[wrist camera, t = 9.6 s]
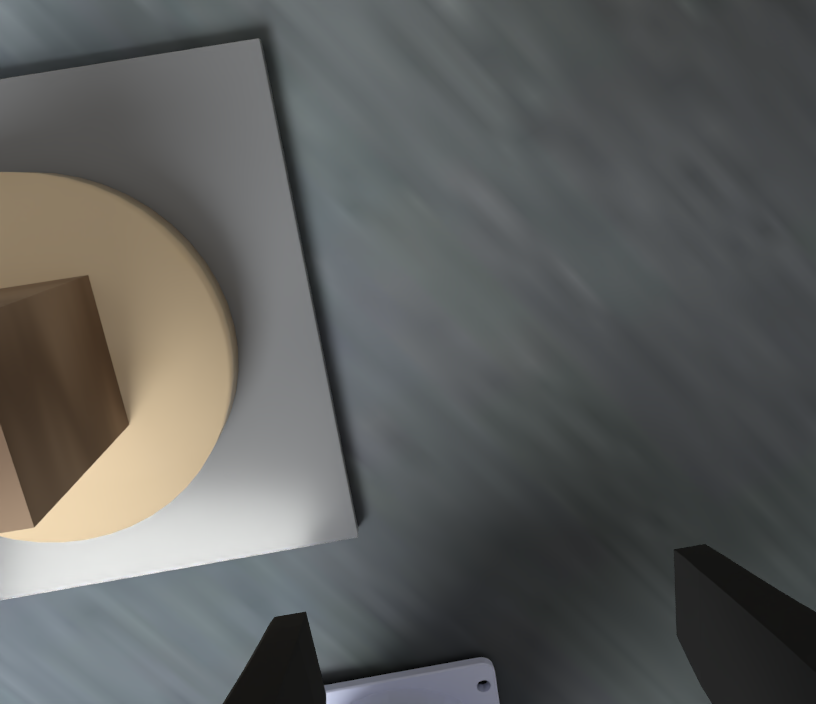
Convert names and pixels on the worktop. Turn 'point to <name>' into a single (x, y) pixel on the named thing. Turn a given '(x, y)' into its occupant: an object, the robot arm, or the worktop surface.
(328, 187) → the worktop surface
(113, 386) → the block
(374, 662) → the worktop surface
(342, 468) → the base
